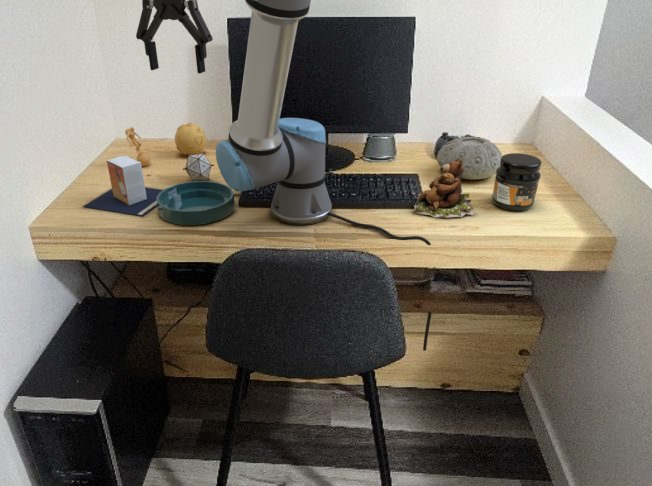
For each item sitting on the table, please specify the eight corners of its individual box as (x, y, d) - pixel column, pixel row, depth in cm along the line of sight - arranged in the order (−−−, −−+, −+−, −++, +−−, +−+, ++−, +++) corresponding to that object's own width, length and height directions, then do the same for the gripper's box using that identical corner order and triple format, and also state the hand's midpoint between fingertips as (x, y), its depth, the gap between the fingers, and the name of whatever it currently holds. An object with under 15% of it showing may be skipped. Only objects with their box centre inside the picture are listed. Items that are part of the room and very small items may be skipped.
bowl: (246, 200, 146) (245, 185, 144) (213, 231, 131) (211, 216, 128) (183, 191, 152) (181, 177, 149) (143, 220, 136) (141, 205, 134)
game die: (205, 194, 159) (205, 175, 150) (177, 182, 159) (177, 163, 149) (217, 170, 163) (219, 151, 153) (191, 159, 162) (191, 139, 153)
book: (175, 192, 151) (175, 191, 150) (142, 216, 138) (142, 215, 138) (120, 184, 156) (119, 183, 156) (83, 207, 143) (83, 205, 143)
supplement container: (494, 211, 138) (502, 165, 132) (487, 194, 147) (495, 151, 141) (537, 213, 137) (548, 167, 131) (528, 196, 146) (538, 152, 140)
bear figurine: (408, 196, 147) (413, 152, 141) (465, 197, 146) (472, 152, 140) (414, 218, 135) (419, 171, 129) (476, 219, 134) (484, 172, 128)
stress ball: (180, 149, 181) (176, 119, 176) (209, 149, 181) (206, 119, 176) (174, 160, 173) (169, 128, 168) (205, 159, 173) (201, 128, 168)
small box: (113, 197, 147) (105, 159, 142) (131, 191, 151) (125, 154, 145) (128, 206, 143) (121, 167, 137) (147, 199, 146) (141, 161, 140)
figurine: (147, 170, 165) (140, 131, 159) (127, 170, 165) (120, 131, 159) (154, 161, 172) (148, 123, 166) (135, 161, 172) (128, 123, 166)
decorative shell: (444, 186, 152) (448, 151, 147) (429, 163, 168) (432, 131, 162) (507, 184, 153) (514, 149, 148) (487, 162, 168) (492, 130, 163)
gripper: (221, -25, 128) (228, 70, 139) (130, -26, 136) (144, 65, 147) (206, -23, 122) (214, 76, 133) (111, -24, 129) (127, 70, 141)
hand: (177, 70), depth 140 cm, fingers open, 13 cm apart
